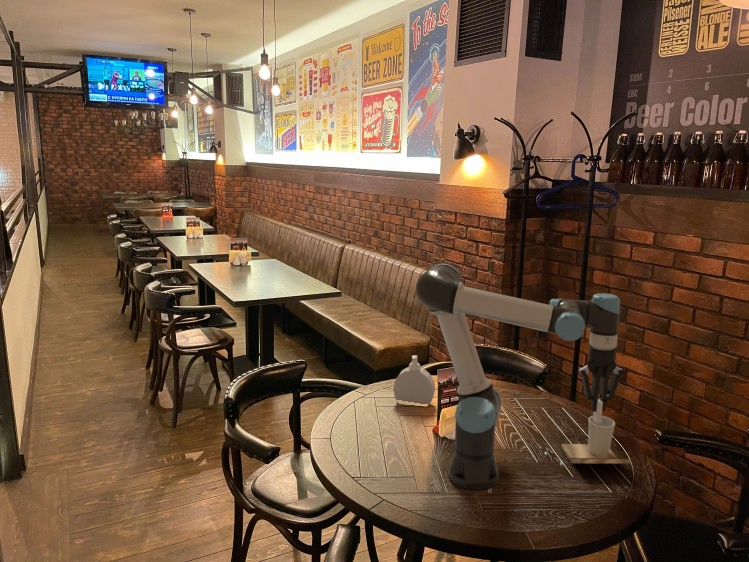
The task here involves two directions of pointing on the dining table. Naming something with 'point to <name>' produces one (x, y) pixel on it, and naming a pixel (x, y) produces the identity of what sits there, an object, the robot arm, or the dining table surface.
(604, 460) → the plank
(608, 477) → the dining table surface
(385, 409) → the dining table surface
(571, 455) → the tan flat board
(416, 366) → the soap bottle
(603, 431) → the cup
